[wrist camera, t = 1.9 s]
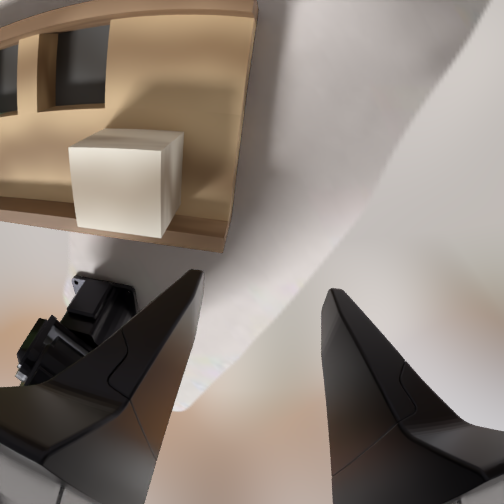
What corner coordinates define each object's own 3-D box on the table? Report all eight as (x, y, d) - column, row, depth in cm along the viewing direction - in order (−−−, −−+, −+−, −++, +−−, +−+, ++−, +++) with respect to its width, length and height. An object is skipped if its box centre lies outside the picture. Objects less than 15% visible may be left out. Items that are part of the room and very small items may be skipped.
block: (180, 204, 19) (161, 238, 15) (107, 196, 18) (77, 226, 15) (184, 131, 16) (161, 151, 13) (104, 128, 16) (68, 147, 13)
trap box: (231, 216, 22) (222, 253, 18) (-19, 191, 21) (-48, 213, 17) (258, 9, 14) (254, -7, 10) (-29, 51, 13) (-65, 60, 10)
